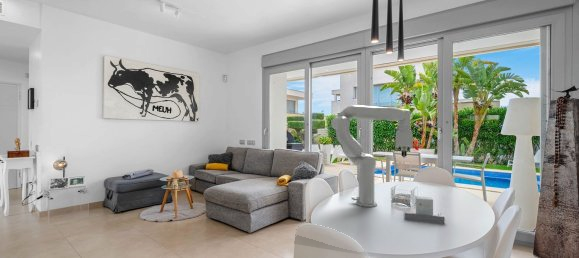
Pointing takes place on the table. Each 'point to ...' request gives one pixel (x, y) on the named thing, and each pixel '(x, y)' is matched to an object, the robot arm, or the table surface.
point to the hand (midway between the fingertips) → (404, 157)
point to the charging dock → (424, 217)
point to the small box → (424, 205)
